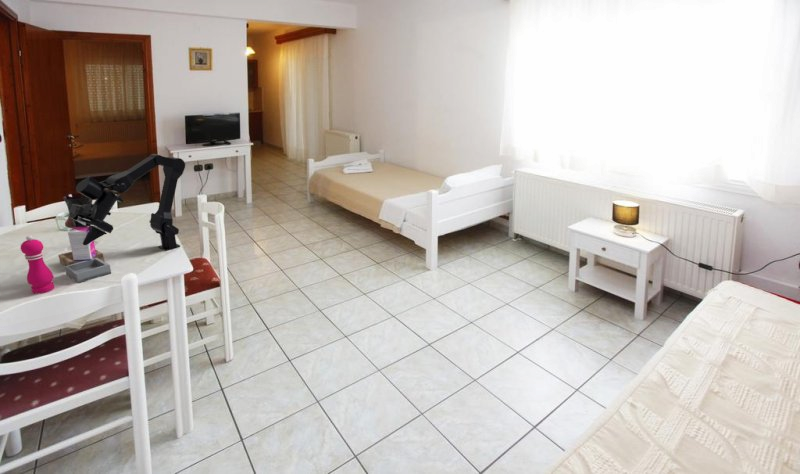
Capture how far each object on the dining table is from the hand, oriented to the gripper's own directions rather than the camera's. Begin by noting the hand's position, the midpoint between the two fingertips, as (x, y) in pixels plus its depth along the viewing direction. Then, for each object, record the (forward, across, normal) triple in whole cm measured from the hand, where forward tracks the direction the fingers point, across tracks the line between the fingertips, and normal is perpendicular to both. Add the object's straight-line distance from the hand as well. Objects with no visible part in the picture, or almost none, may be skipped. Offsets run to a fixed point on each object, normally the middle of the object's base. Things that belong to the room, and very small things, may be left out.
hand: (77, 242), depth 167 cm
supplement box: (+4, 0, +6) cm, 7 cm away
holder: (+5, -14, +13) cm, 20 cm away
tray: (+8, 0, +10) cm, 13 cm away
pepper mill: (+19, 0, -1) cm, 19 cm away
